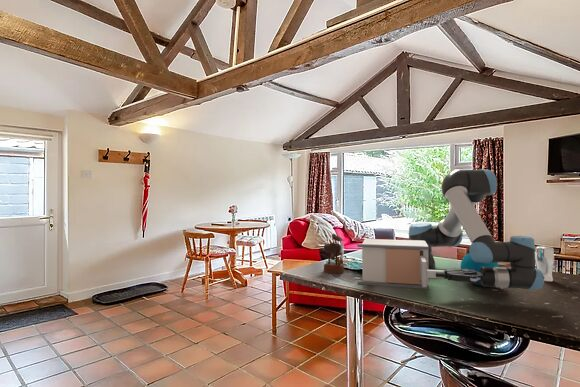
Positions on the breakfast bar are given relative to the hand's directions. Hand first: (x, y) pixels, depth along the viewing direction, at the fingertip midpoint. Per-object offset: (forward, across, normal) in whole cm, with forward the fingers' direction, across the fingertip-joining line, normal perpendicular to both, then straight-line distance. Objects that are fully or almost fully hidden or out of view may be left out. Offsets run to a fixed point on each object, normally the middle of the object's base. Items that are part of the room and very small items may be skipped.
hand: (426, 273), depth 134 cm
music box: (+43, +31, -9) cm, 54 cm away
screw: (+41, +49, -9) cm, 64 cm away
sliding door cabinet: (+13, +19, -9) cm, 24 cm away
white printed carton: (-54, +37, -9) cm, 66 cm away
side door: (+8, +4, -7) cm, 12 cm away
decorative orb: (-24, +21, -9) cm, 33 cm away
